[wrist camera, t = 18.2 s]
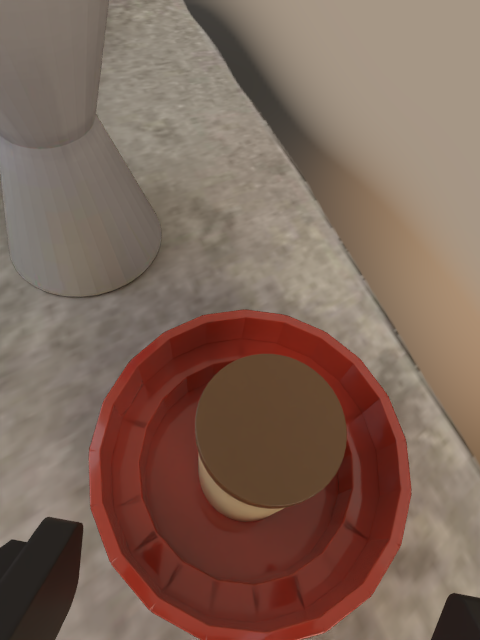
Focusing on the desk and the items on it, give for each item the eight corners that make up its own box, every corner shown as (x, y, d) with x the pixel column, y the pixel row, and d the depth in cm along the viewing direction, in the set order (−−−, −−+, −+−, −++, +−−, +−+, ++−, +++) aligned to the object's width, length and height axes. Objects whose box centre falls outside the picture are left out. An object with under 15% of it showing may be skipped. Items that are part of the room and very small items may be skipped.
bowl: (58, 539, 20) (13, 535, 15) (189, 322, 27) (187, 272, 22) (321, 685, 18) (363, 731, 13) (390, 411, 25) (435, 377, 20)
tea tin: (178, 494, 21) (166, 461, 13) (222, 404, 24) (234, 331, 16) (274, 543, 20) (319, 537, 12) (308, 444, 23) (364, 388, 15)
